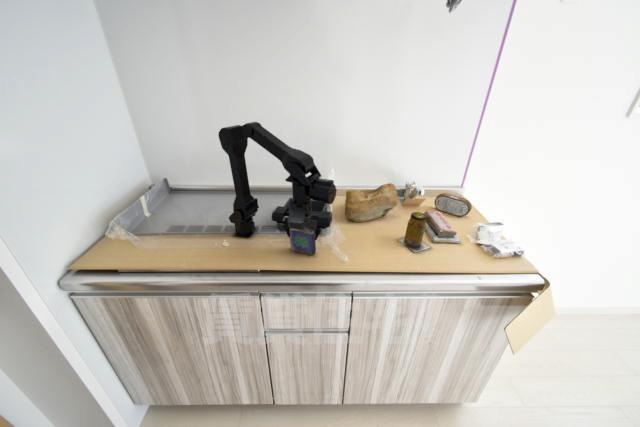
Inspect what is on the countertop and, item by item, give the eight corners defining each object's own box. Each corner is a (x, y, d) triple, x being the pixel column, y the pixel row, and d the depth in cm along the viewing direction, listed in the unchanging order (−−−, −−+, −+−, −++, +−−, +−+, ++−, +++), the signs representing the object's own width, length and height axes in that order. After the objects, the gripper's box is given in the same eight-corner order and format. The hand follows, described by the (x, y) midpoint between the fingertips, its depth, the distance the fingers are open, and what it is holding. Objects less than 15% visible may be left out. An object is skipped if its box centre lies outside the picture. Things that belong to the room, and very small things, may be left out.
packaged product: (420, 209, 103) (443, 209, 103) (417, 218, 106) (440, 219, 105) (436, 232, 88) (464, 233, 87) (433, 243, 90) (460, 244, 90)
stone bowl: (382, 205, 118) (384, 175, 112) (399, 219, 104) (403, 186, 97) (336, 210, 114) (336, 180, 108) (347, 226, 100) (348, 192, 93)
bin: (277, 228, 97) (276, 216, 94) (290, 208, 112) (289, 197, 109) (320, 234, 94) (320, 221, 91) (327, 212, 109) (327, 201, 106)
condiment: (412, 236, 94) (419, 208, 88) (429, 248, 87) (438, 219, 81) (398, 240, 91) (404, 212, 85) (414, 253, 84) (422, 224, 78)
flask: (289, 250, 84) (287, 224, 78) (293, 245, 86) (291, 220, 81) (314, 256, 81) (314, 230, 76) (317, 250, 84) (317, 225, 78)
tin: (468, 217, 108) (474, 200, 104) (466, 219, 106) (472, 202, 101) (433, 206, 116) (438, 190, 112) (431, 209, 114) (436, 192, 110)
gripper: (262, 204, 68) (267, 248, 76) (327, 211, 65) (325, 256, 73) (276, 189, 78) (279, 230, 85) (333, 195, 75) (331, 236, 82)
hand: (302, 238), depth 81 cm, fingers closed on flask, 9 cm apart
